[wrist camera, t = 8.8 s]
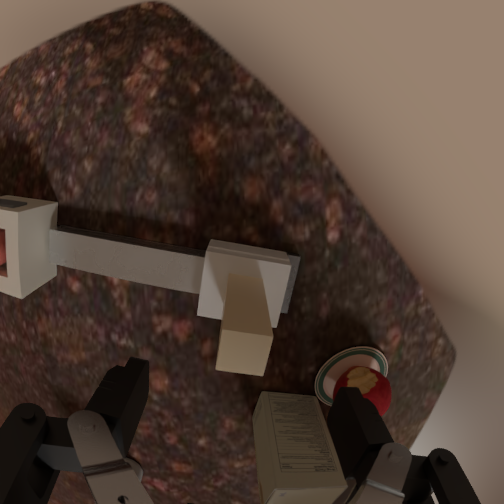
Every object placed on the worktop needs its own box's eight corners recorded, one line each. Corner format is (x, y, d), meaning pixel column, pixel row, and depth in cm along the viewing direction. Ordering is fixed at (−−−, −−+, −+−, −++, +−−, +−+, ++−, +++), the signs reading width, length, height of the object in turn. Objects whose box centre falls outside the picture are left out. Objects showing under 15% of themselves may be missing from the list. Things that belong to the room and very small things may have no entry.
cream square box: (58, 200, 23) (18, 209, 18) (56, 275, 25) (21, 299, 19) (7, 193, 23) (-33, 201, 17) (7, 261, 25) (-28, 280, 19)
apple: (297, 386, 29) (308, 431, 23) (352, 330, 28) (377, 369, 21) (348, 412, 30) (364, 453, 24) (399, 363, 29) (425, 400, 23)
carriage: (285, 252, 25) (317, 315, 14) (272, 310, 26) (290, 398, 15) (210, 238, 24) (186, 294, 13) (201, 298, 26) (177, 383, 15)
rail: (299, 254, 25) (303, 261, 23) (285, 309, 27) (288, 319, 25) (61, 213, 24) (49, 217, 22) (60, 266, 25) (49, 273, 23)
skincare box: (251, 417, 30) (255, 511, 18) (261, 388, 29) (270, 488, 17) (307, 422, 30) (328, 511, 19) (320, 395, 29) (350, 487, 18)
